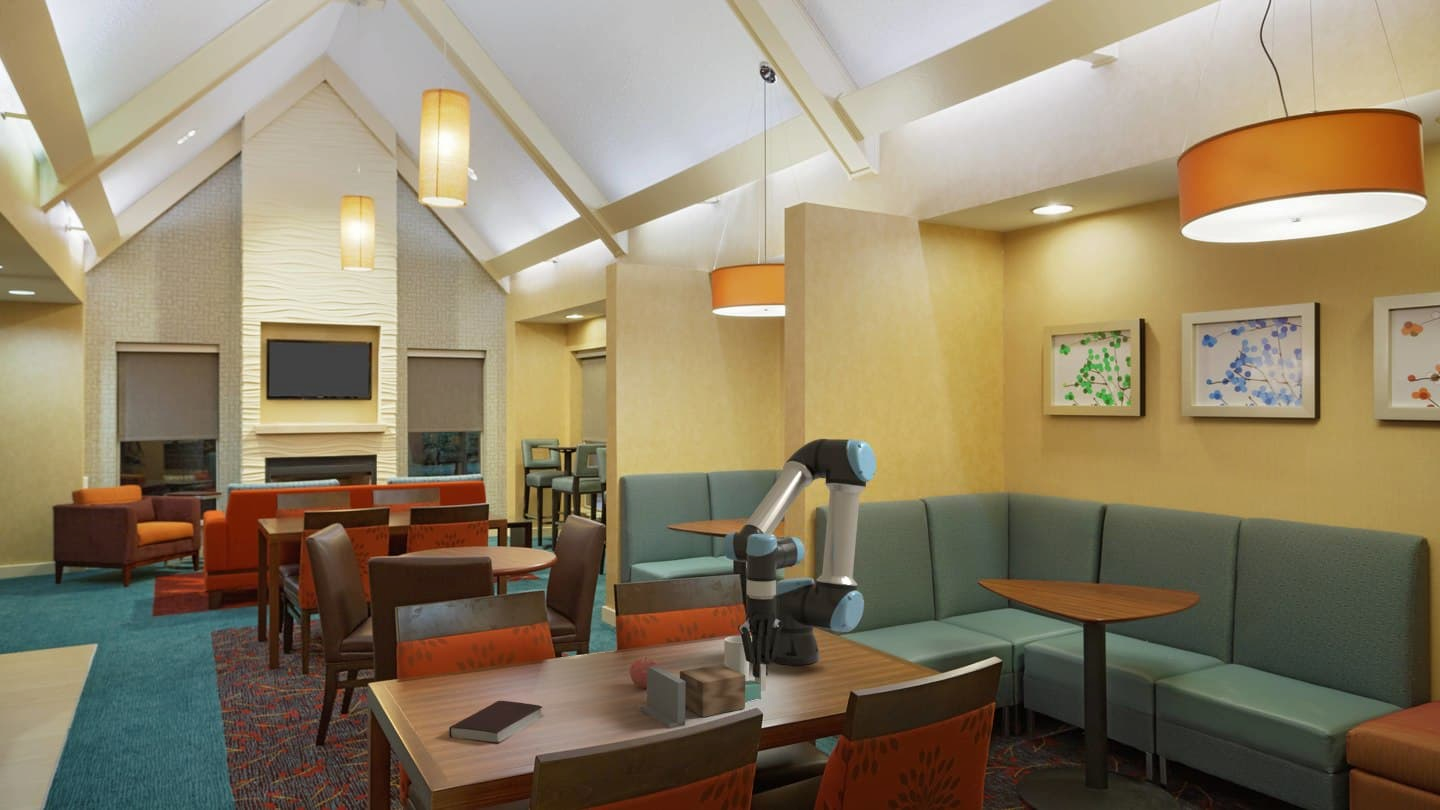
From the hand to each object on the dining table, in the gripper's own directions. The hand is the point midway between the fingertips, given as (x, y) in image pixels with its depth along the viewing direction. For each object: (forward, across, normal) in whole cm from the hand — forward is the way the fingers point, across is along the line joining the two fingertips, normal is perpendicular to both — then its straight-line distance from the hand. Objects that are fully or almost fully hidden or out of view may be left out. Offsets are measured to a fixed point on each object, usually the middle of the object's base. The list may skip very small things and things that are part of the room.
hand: (760, 689), depth 227 cm
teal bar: (+2, +8, -1) cm, 8 cm away
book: (+3, +63, -14) cm, 65 cm away
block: (+2, +14, 0) cm, 14 cm away
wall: (+2, +27, 0) cm, 27 cm away
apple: (+2, +21, -22) cm, 31 cm away
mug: (+2, -1, -13) cm, 13 cm away
